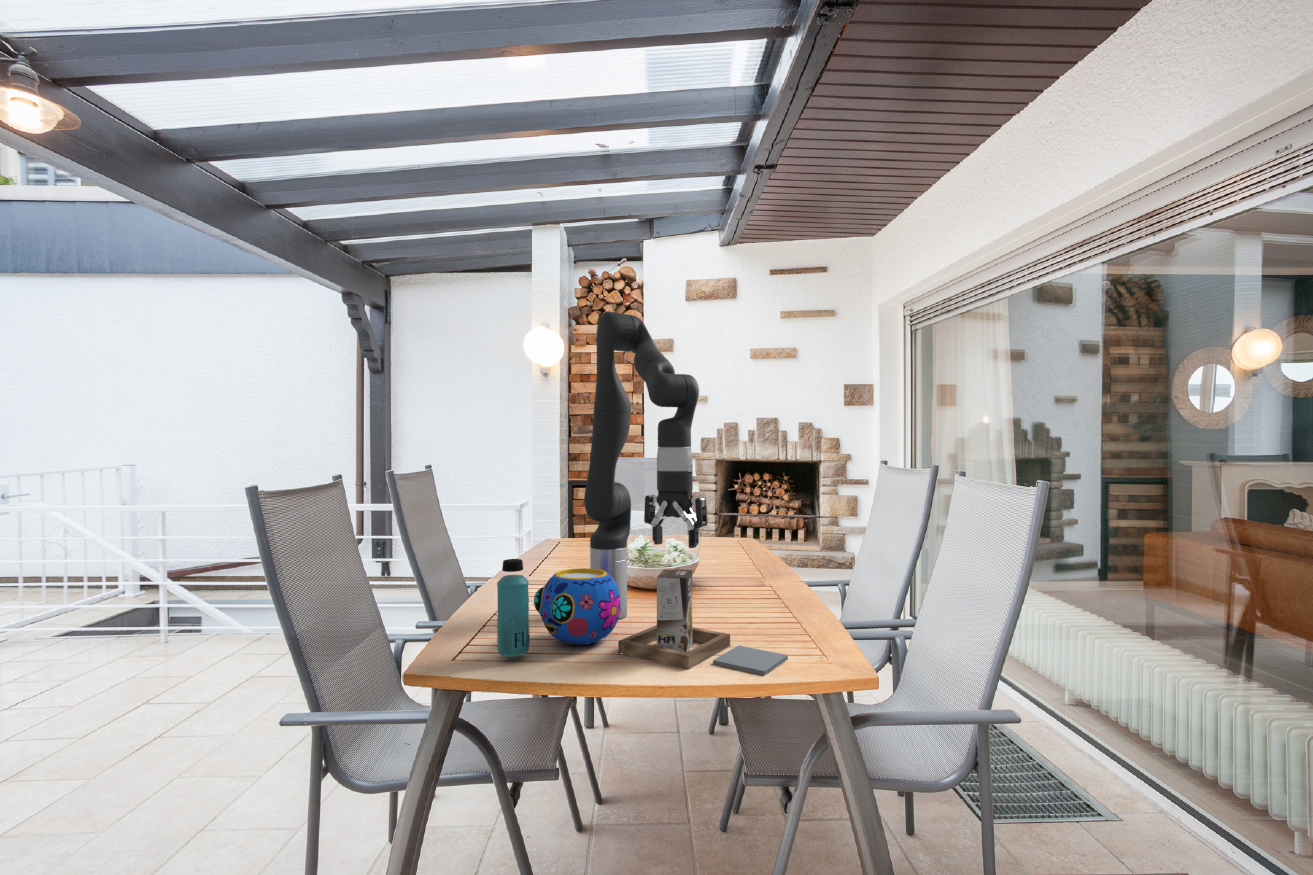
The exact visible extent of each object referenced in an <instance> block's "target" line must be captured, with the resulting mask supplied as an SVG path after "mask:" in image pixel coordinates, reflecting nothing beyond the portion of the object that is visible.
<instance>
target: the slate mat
mask: <svg viewBox="0 0 1313 875" xmlns="http://www.w3.org/2000/svg"><path fill="white" fill-rule="evenodd" d="M788 659H789V655H788V654H786V653H785V654H784V653H780V652H774V651H769V650H764V649H759V648H755V647H749V646H748V647H747V646H745V645H744V646H743V645H737V646H734V647H733V648H731V649H730V650H728V651H726V652H724V653H723V654H721V655H719V656H718V657H716V658H714V659H713V660H712V665H715V666H720V667H723V668H729V669H733V670H738V671H739V670H740V671H741V672H742V671H743V672H748V673H752V674H756V675H761V676H766V675H768V674H769V673H771V672H772V671H773V670H774V669H776V668H778V666H780V665H781V664H783V663H784V662H786V661H787V660H788Z"/></svg>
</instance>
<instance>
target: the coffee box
mask: <svg viewBox="0 0 1313 875" xmlns="http://www.w3.org/2000/svg"><path fill="white" fill-rule="evenodd" d="M656 625H657V640H656V646H657V647H662V648H667V649H672V650H676V651H681V652H688V651H690V650H691V647H692V645H693V641H692V627H693V570H692V569H679V568H678V569H663V570H662V571H661V572H660V574H658V575H657V576H656Z"/></svg>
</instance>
